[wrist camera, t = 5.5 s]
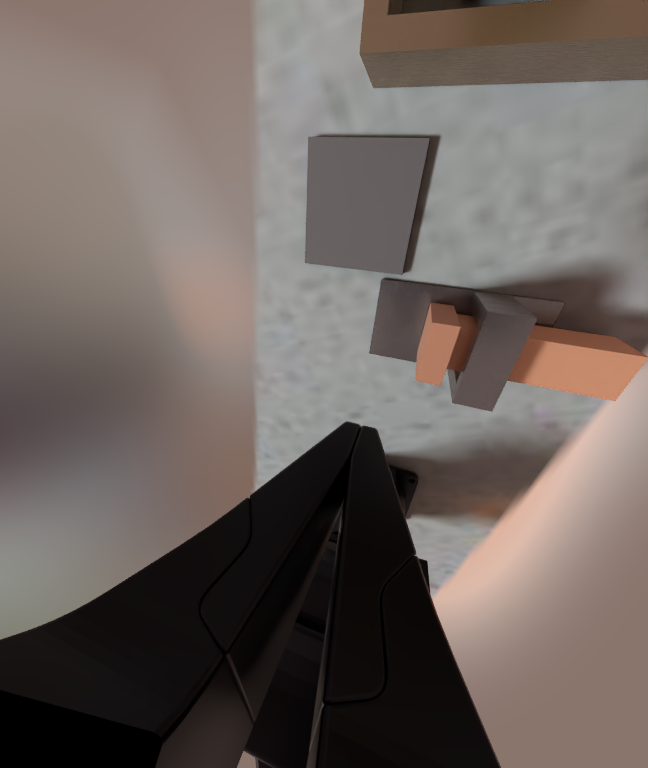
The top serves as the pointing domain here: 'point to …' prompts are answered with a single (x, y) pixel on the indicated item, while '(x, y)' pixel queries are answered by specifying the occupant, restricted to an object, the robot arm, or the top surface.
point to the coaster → (362, 200)
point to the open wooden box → (505, 43)
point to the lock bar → (532, 356)
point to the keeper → (491, 341)
